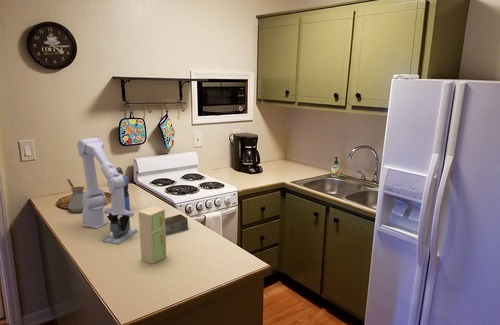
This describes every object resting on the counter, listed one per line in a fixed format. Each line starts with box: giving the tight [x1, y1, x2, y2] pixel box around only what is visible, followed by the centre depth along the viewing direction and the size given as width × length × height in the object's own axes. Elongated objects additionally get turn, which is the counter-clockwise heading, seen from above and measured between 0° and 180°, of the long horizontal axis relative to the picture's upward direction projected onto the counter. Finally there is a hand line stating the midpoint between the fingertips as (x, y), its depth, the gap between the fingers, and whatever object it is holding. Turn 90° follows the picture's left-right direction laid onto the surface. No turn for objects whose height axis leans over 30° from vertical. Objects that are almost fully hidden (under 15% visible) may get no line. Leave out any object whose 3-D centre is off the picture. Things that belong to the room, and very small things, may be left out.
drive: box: [109, 218, 131, 237], centre depth 162 cm, size 4×9×6 cm, turn 163°
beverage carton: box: [165, 213, 189, 236], centre depth 168 cm, size 8×19×7 cm, turn 128°
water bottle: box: [115, 166, 131, 211], centre depth 191 cm, size 9×9×25 cm
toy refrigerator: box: [138, 205, 167, 265], centre depth 141 cm, size 8×7×21 cm
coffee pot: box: [65, 178, 85, 214], centre depth 196 cm, size 21×12×15 cm, turn 44°
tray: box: [101, 228, 139, 245], centre depth 162 cm, size 9×14×5 cm, turn 163°
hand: (119, 229), depth 162 cm, fingers closed on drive, 4 cm apart
